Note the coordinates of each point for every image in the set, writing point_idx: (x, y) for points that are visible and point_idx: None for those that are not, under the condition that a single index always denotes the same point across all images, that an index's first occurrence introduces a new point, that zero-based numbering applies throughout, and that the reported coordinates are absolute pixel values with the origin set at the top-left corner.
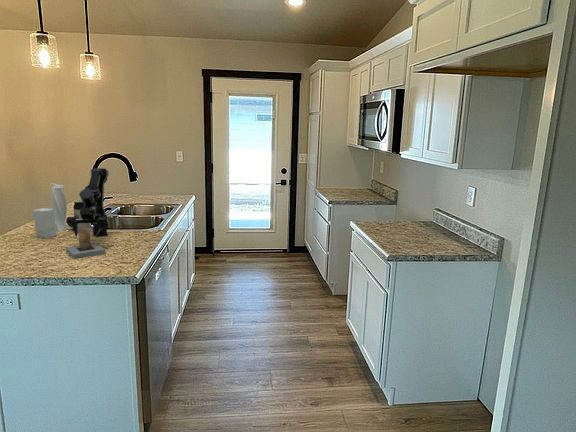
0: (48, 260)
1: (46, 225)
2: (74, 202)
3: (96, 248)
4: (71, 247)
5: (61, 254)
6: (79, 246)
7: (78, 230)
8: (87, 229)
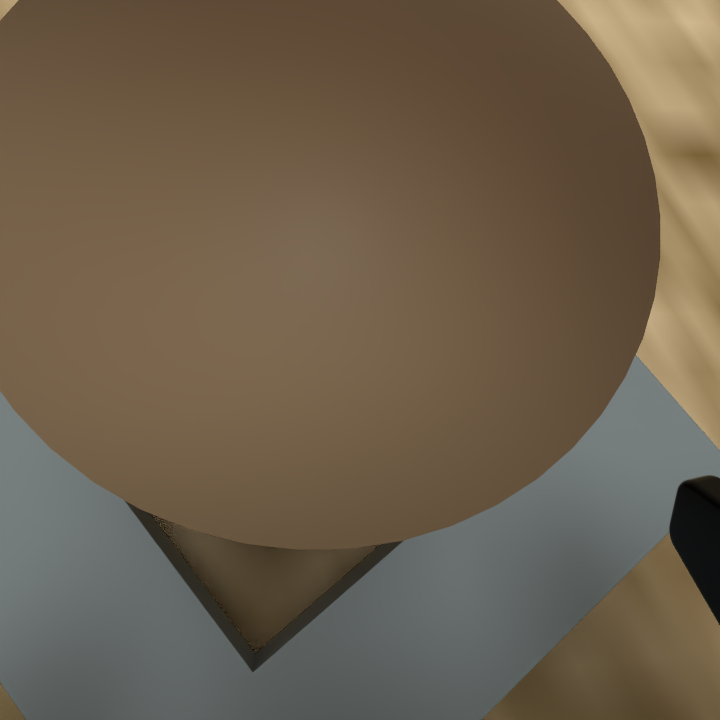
0: (662, 17)
1: None
2: None
3: (19, 427)
4: (625, 471)
5: (662, 308)
6: (499, 571)
7: (556, 51)
8: (48, 88)
